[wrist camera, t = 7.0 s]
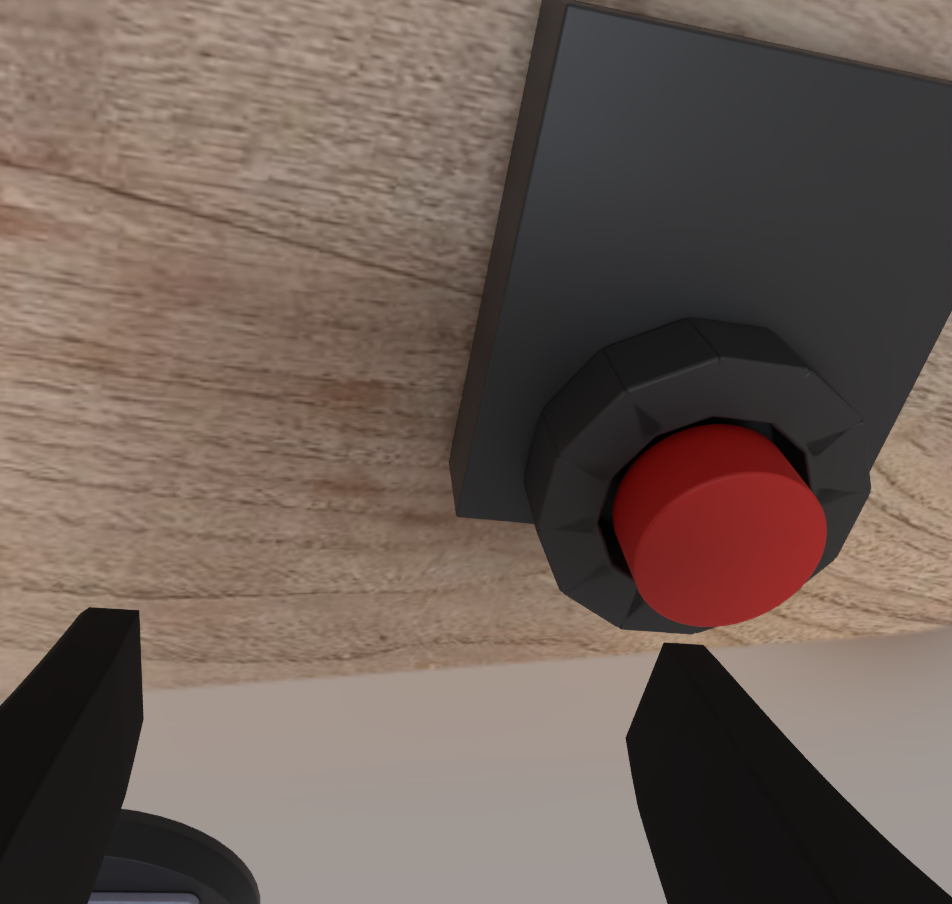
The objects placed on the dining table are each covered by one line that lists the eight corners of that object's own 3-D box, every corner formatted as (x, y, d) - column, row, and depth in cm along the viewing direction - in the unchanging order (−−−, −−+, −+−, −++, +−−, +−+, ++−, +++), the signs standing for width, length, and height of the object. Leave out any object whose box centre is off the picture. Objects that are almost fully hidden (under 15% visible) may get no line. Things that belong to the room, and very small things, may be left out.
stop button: (750, 576, 18) (784, 634, 16) (591, 562, 17) (610, 622, 16) (816, 432, 16) (861, 483, 15) (640, 411, 15) (669, 462, 14)
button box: (773, 537, 22) (844, 646, 19) (439, 505, 20) (452, 618, 17) (980, 87, 16) (1137, 126, 13) (543, -7, 15) (592, 11, 11)
